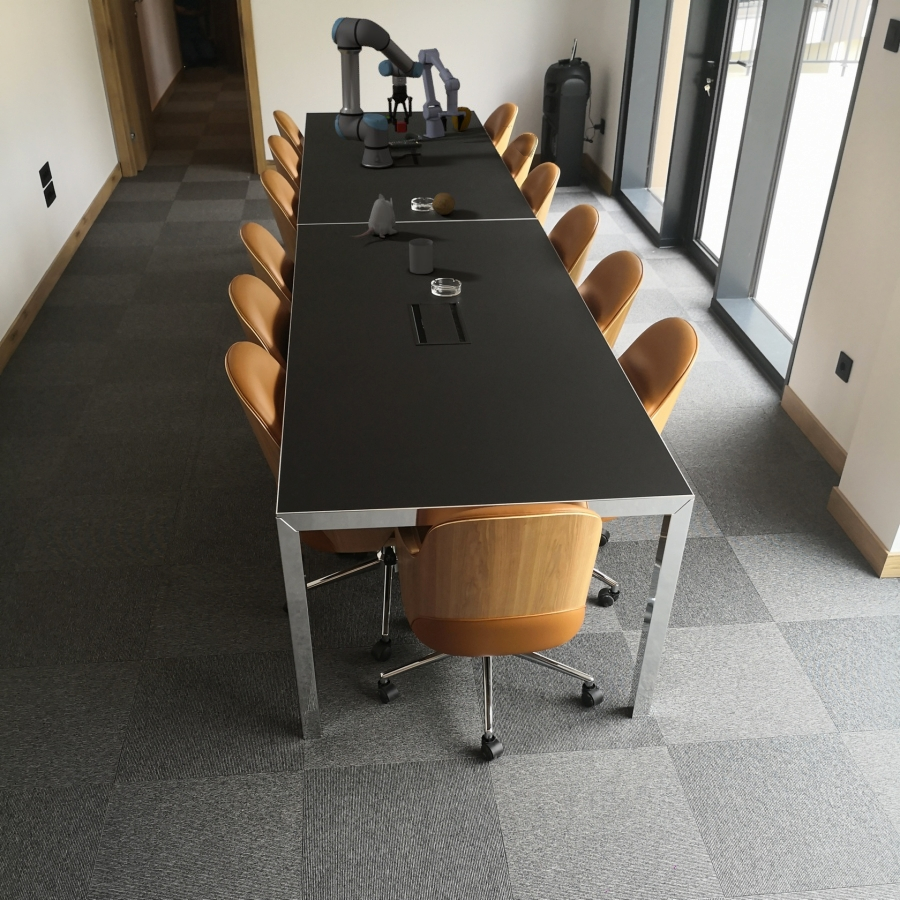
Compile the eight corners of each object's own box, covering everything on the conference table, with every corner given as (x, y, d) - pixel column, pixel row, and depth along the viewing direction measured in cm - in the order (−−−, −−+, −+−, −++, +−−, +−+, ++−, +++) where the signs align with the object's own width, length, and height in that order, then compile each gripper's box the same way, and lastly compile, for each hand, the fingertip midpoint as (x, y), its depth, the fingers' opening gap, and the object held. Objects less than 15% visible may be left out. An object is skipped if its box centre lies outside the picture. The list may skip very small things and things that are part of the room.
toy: (402, 233, 342) (401, 194, 333) (358, 248, 327) (355, 208, 319) (387, 227, 347) (385, 190, 339) (342, 242, 332) (339, 203, 324)
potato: (453, 208, 369) (453, 189, 365) (456, 218, 357) (456, 199, 353) (431, 208, 368) (430, 189, 364) (432, 218, 356) (432, 199, 352)
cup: (409, 265, 311) (408, 238, 306) (432, 265, 312) (431, 238, 307) (410, 274, 304) (409, 246, 299) (433, 273, 305) (433, 246, 299)
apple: (471, 132, 486) (471, 108, 479) (451, 132, 486) (451, 108, 479) (470, 128, 495) (471, 104, 488) (452, 128, 495) (452, 104, 488)
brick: (395, 130, 466) (395, 121, 463) (404, 130, 467) (403, 121, 465) (397, 132, 462) (397, 123, 459) (406, 132, 463) (406, 123, 461)
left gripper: (384, 86, 447) (386, 133, 459) (417, 85, 451) (418, 131, 464) (381, 84, 453) (383, 130, 465) (414, 82, 457) (415, 128, 470)
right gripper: (441, 106, 450) (441, 133, 457) (467, 104, 454) (467, 131, 461) (437, 103, 456) (437, 130, 463) (463, 101, 459) (463, 128, 467)
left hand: (400, 131), depth 464 cm, fingers closed on brick, 5 cm apart
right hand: (452, 130), depth 463 cm, fingers open, 7 cm apart
